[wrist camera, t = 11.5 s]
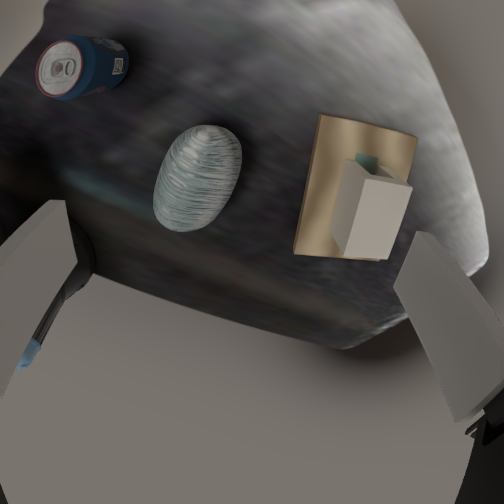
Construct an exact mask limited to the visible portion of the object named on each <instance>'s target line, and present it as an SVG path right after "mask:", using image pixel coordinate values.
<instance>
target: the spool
mask: <svg viewBox="0 0 504 504" xmlns="http://www.w3.org/2000/svg"><path fill="white" fill-rule="evenodd" d="M241 164H242V149H241V145H240V142H239V141H238V139H237V138H236V136H235V135H234V134H233V133H232V132H230V131H229V130H227V129H225V128H223V127H219V126H216V125H198V126H195V127H192V128H190V129H188V130H186V131H185V132H183V133H182V134H181V135H180V136H178V137H177V138H176V140H175V141H174V142H173V144H172V145H171V147H170V149H169V150H168V152H167V154H166V156H165V158H164V160H163V163H162V165H161V168H160V171H159V174H158V177H157V181H156V185H155V190H154V194H153V208H154V212H155V215H156V217H157V219H158V221H159V222H160V223H161V224H162V225H163V226H165V227H166V228H168V229H170V230H173V231H177V232H190V231H195V230H197V229H200V228H203V227H205V226H206V225H208V224H209V223H210V222H212V221H213V220H214V219H215V218H216V217H217V216H218V214H219V213H220V212H221V210H222V209H223V207H224V206H225V204H226V203H227V201H228V199H229V198H230V196H231V194H232V192H233V189H234V187H235V185H236V182H237V180H238V177H239V173H240V169H241Z"/></svg>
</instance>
